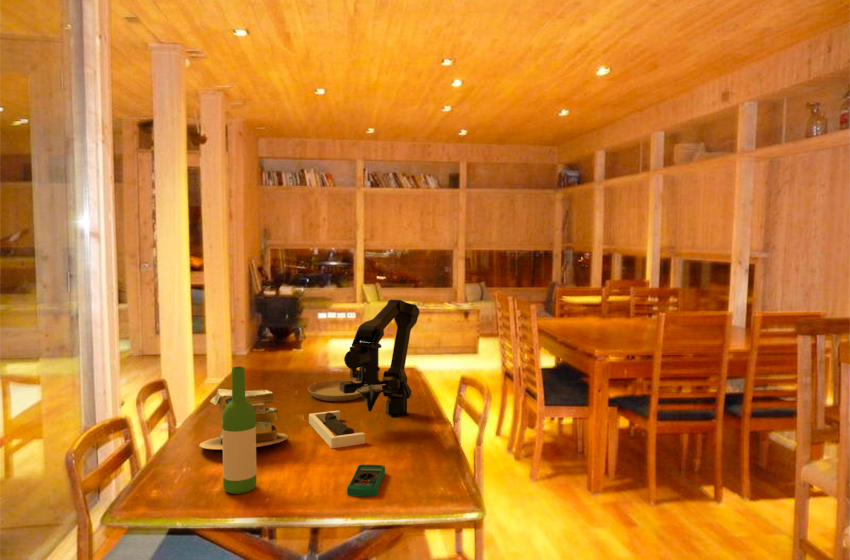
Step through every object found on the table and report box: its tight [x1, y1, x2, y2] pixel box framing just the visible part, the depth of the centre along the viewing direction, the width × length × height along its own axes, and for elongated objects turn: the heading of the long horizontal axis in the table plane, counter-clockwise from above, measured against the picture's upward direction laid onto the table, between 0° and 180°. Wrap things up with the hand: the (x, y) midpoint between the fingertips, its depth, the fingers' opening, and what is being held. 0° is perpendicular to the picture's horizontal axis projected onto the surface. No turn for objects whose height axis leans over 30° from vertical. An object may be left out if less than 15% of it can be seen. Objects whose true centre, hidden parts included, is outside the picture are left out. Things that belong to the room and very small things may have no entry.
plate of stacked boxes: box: [198, 388, 289, 450], centre depth 175 cm, size 25×25×17 cm
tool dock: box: [308, 410, 366, 449], centre depth 189 cm, size 10×27×3 cm, turn 25°
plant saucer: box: [307, 379, 369, 402], centre depth 235 cm, size 24×24×3 cm
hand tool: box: [325, 411, 355, 436], centre depth 190 cm, size 19×4×5 cm, turn 28°
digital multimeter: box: [346, 464, 386, 497], centre depth 149 cm, size 7×15×3 cm, turn 176°
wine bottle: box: [221, 365, 257, 495], centre depth 145 cm, size 8×8×30 cm
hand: (369, 411), depth 193 cm, fingers closed
